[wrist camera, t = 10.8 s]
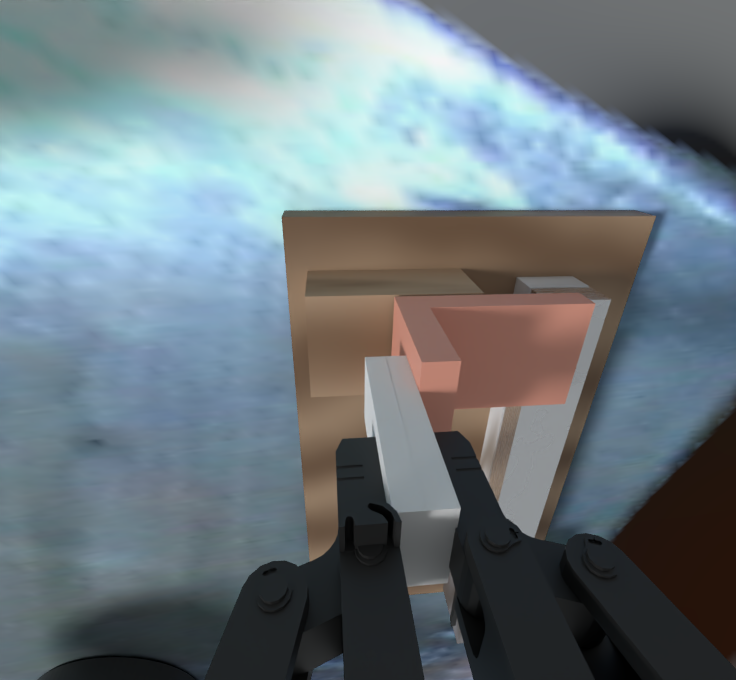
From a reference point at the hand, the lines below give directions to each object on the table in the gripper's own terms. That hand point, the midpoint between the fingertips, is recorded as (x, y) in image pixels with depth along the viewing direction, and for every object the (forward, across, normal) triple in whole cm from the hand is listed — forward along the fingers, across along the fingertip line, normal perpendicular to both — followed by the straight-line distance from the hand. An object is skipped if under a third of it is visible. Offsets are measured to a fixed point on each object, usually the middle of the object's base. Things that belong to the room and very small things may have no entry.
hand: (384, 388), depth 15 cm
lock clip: (+3, -5, 0) cm, 6 cm away
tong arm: (+5, -9, +10) cm, 14 cm away
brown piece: (+8, -5, +10) cm, 14 cm away
